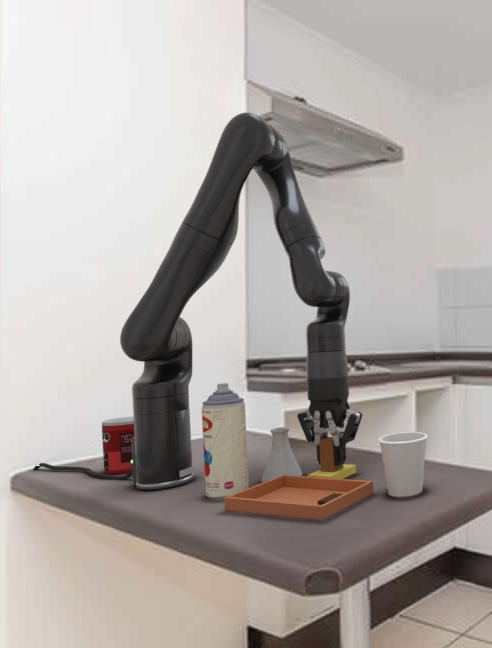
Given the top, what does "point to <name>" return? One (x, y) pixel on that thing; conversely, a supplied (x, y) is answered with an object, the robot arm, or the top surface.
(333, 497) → the block
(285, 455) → the flask
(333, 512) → the orange tray
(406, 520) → the top surface
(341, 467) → the brush
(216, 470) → the aerosol can
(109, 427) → the canned food
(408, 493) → the dixie cup
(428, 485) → the top surface
